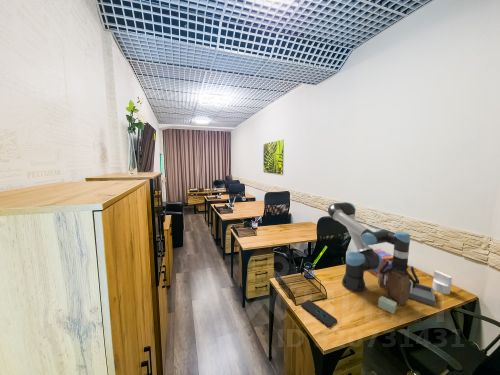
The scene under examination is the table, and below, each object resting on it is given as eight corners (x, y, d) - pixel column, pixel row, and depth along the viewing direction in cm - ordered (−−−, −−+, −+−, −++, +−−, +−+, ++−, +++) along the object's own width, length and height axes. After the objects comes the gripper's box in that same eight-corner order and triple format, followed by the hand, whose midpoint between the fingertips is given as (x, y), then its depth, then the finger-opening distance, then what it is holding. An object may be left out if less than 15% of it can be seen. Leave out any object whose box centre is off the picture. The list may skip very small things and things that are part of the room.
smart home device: (328, 326, 107) (300, 304, 123) (328, 329, 107) (300, 306, 123) (337, 319, 111) (309, 299, 128) (337, 322, 111) (309, 301, 128)
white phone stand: (453, 292, 136) (455, 276, 135) (444, 295, 133) (446, 278, 132) (437, 285, 145) (439, 269, 143) (429, 287, 142) (431, 271, 140)
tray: (406, 296, 132) (406, 291, 131) (406, 284, 145) (406, 280, 145) (434, 306, 123) (435, 301, 123) (432, 292, 136) (432, 287, 136)
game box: (379, 278, 152) (381, 259, 151) (363, 268, 167) (364, 250, 166) (395, 275, 157) (397, 257, 155) (377, 266, 171) (379, 248, 170)
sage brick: (378, 306, 123) (378, 299, 123) (381, 303, 126) (381, 295, 126) (393, 314, 117) (393, 306, 116) (396, 310, 120) (396, 302, 119)
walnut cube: (379, 286, 143) (380, 279, 142) (377, 282, 148) (378, 274, 147) (389, 288, 140) (390, 281, 140) (387, 284, 146) (388, 276, 145)
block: (409, 305, 124) (412, 275, 122) (400, 307, 122) (403, 277, 120) (392, 294, 135) (395, 266, 132) (383, 296, 132) (386, 268, 130)
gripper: (376, 252, 130) (373, 283, 132) (427, 265, 114) (423, 299, 117) (377, 249, 135) (375, 278, 138) (426, 260, 120) (422, 292, 122)
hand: (397, 287), depth 127 cm, fingers open, 13 cm apart
